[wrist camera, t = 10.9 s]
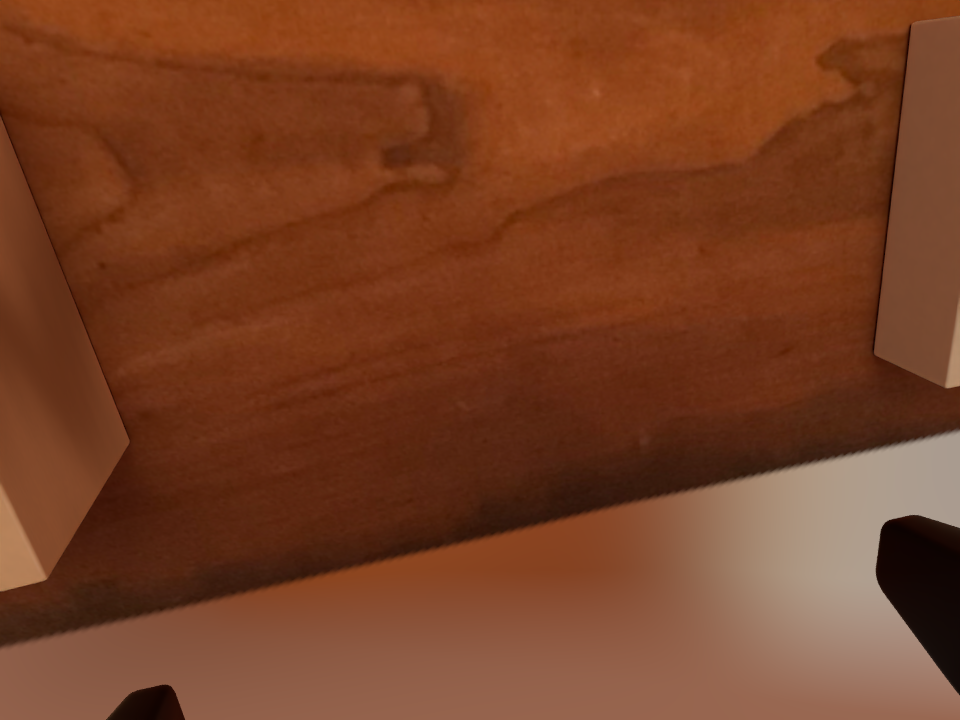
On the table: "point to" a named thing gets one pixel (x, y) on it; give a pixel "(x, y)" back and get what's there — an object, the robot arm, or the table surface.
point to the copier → (925, 214)
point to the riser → (44, 395)
